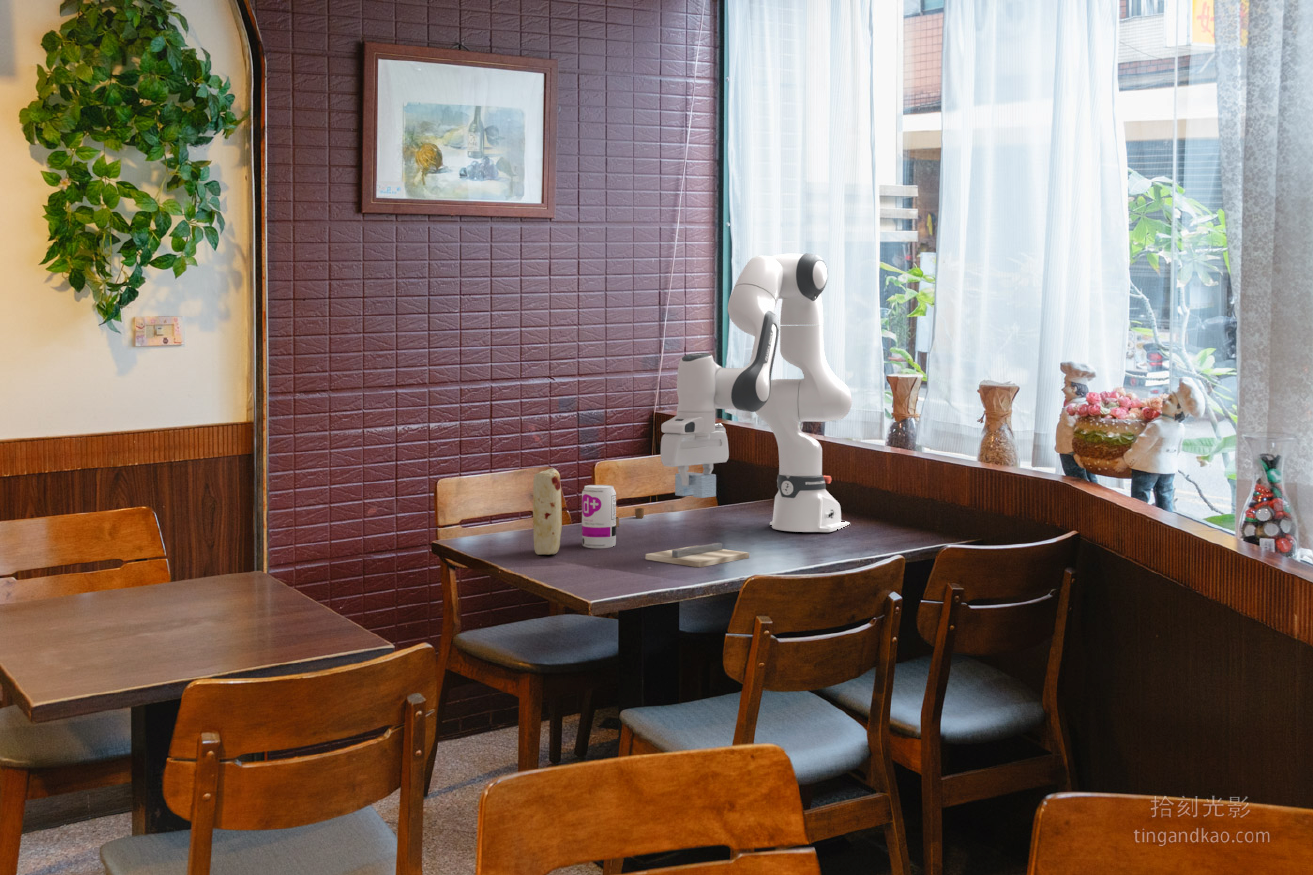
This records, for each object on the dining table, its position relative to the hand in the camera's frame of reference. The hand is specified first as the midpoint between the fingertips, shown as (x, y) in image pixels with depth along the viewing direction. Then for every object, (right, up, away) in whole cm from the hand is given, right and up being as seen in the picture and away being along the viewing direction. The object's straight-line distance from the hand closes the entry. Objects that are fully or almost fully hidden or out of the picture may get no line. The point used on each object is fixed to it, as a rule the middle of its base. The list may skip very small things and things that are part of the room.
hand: (695, 484), depth 274 cm
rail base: (+1, -17, +1) cm, 17 cm away
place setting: (-19, -15, +42) cm, 49 cm away
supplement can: (-23, -16, +16) cm, 33 cm away
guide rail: (+1, -16, 0) cm, 16 cm away
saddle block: (0, -3, 0) cm, 3 cm away
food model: (-34, -17, +7) cm, 39 cm away
